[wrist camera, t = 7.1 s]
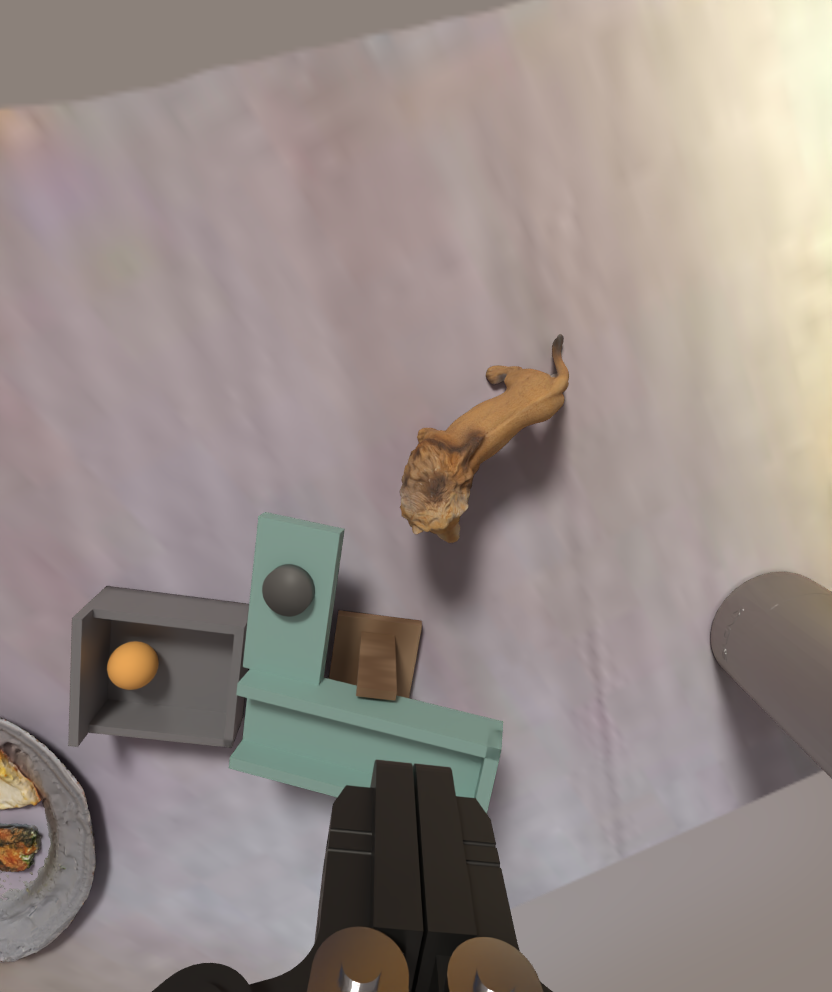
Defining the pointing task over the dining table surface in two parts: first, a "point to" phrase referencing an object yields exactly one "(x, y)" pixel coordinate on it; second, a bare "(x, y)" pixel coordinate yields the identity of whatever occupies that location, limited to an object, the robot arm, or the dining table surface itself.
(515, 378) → the lion figurine
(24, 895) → the food plate
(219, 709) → the tray
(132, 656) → the ball
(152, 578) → the dining table surface
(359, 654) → the fulcrum
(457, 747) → the lever
